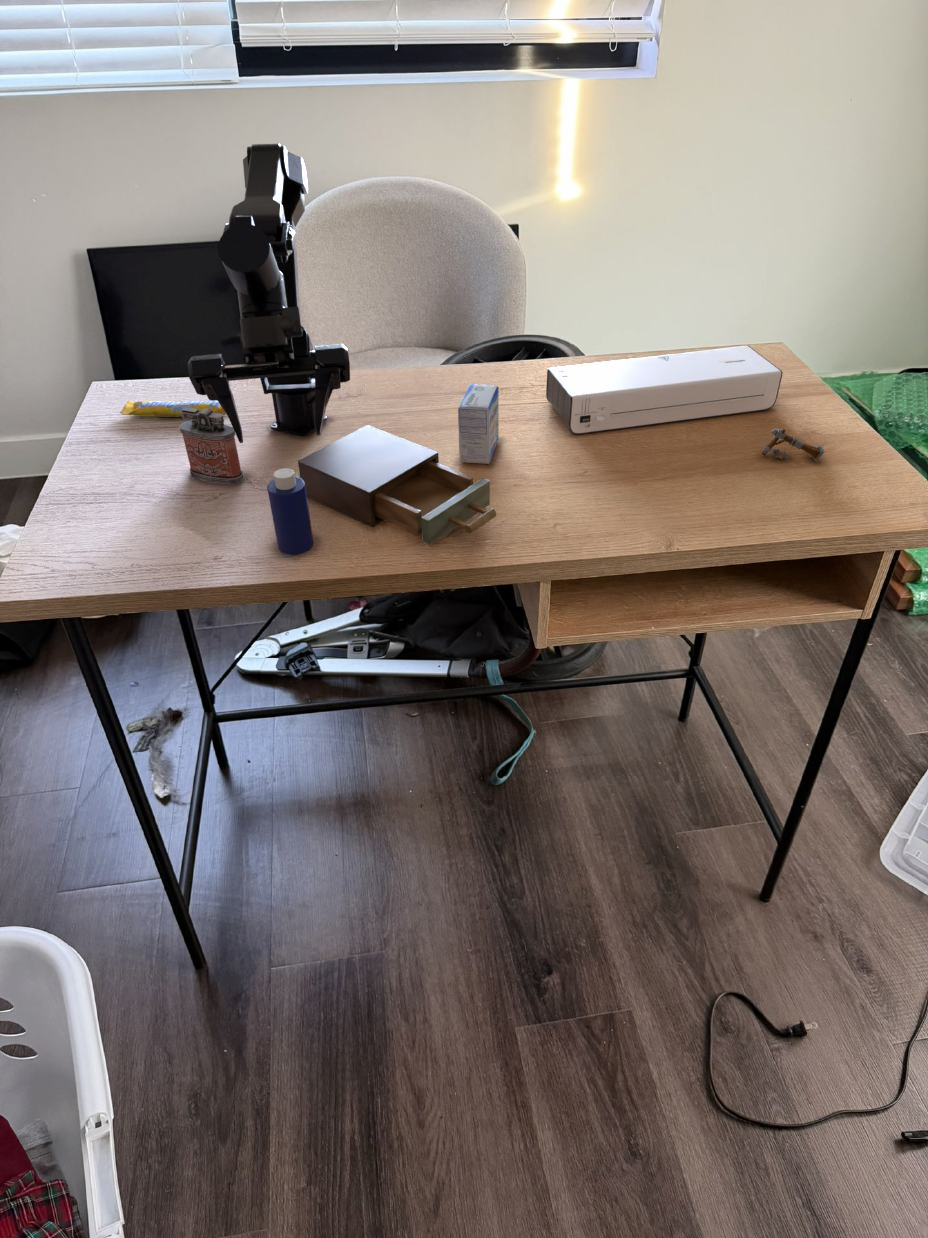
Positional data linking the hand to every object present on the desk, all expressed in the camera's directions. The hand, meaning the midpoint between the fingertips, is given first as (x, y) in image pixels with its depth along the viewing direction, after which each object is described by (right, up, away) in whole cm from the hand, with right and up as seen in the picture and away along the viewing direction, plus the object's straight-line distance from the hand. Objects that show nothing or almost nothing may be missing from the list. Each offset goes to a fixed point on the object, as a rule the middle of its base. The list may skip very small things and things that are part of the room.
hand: (280, 438), depth 103 cm
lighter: (-13, -2, +18) cm, 22 cm away
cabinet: (+9, -4, +14) cm, 18 cm away
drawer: (+18, -8, +8) cm, 22 cm away
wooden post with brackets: (+69, +1, +19) cm, 71 cm away
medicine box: (+24, +3, +22) cm, 33 cm away
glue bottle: (+1, -13, +4) cm, 13 cm away
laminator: (+53, +11, +32) cm, 63 cm away
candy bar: (-23, +11, +34) cm, 42 cm away
